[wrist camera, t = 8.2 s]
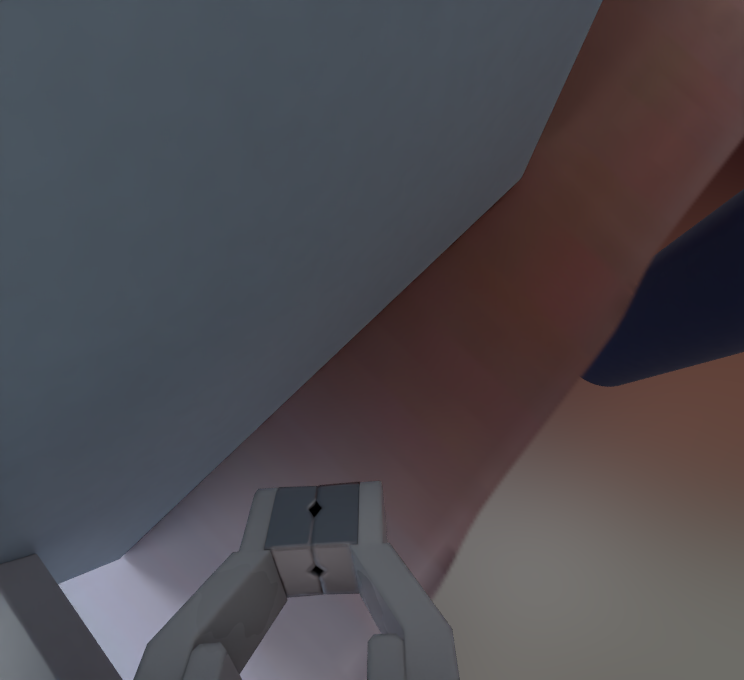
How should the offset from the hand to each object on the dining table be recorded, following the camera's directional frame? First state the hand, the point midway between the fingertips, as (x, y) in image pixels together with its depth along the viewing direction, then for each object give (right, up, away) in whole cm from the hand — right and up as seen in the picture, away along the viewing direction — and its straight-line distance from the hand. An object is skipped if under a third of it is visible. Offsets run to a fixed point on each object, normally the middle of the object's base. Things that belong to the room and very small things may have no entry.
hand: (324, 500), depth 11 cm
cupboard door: (+1, +2, +10) cm, 10 cm away
